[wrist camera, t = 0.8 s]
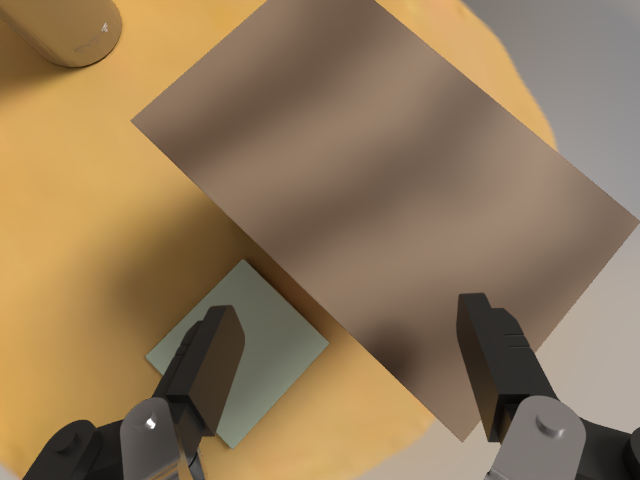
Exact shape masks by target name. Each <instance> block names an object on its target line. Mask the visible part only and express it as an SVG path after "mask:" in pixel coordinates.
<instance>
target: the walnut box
mask: <svg viewBox="0 0 640 480" xmlns="http://www.w3.org/2000/svg"><path fill="white" fill-rule="evenodd" d="M130 121H131V122H132V123H133V124H134V125H135V126H136V127H137V128H138V129H139V130H140V131H141V132H142V133H143V134H144V135H145V136H146V137H147V138H148V139H149V140H150V141H151V142H152V143H153V144H155V145H156V146H157V147H158V148H159V149H160V150H161V151H162V152H163V153H164V154H165V155H166V156H167V157H168V158H169V159H170V160H171V161H172V162H173V163H174V164H175V165H176V166H177V167H178V168H179V169H180V170H181V171H182V172H183V173H184V174H185V175H187V176H188V177H189V178H190V179H191V180H192V181H193V182H194V183H195V184H196V185H197V186H198V187H199V188H200V189H201V190H202V191H203V192H204V193H205V194H206V195H207V196H208V197H209V198H210V199H211V200H212V201H213V202H214V203H215V204H216V205H218V206H219V207H220V208H221V209H222V210H223V211H224V212H225V213H226V214H227V215H228V216H229V217H230V218H231V219H232V220H233V221H234V222H235V223H236V224H237V225H238V226H239V227H240V228H241V229H242V230H243V231H244V232H245V233H246V234H247V235H248V236H250V237H251V238H252V239H253V240H254V241H255V242H256V243H257V244H258V245H259V246H260V247H261V248H262V249H263V250H264V251H265V252H266V253H267V254H268V255H269V256H270V257H271V258H272V259H273V260H274V261H275V262H276V263H277V264H278V265H279V266H280V267H282V268H283V269H284V270H285V271H286V272H287V273H288V274H289V275H290V276H291V277H292V278H293V279H294V280H295V281H296V282H297V283H298V284H299V285H300V286H301V287H302V288H303V289H304V290H305V291H306V292H307V293H308V294H309V295H310V296H311V297H312V298H314V299H315V300H316V301H317V302H318V303H319V304H320V305H321V306H322V307H323V308H324V309H325V310H326V311H327V312H328V313H329V314H330V315H331V316H332V317H333V318H334V319H335V320H336V321H337V322H338V323H339V324H340V325H341V326H342V327H343V328H345V329H346V330H347V331H348V332H349V333H350V334H351V335H352V336H353V337H354V338H355V339H356V340H357V341H358V342H359V343H360V344H361V345H362V346H363V347H364V348H365V349H366V350H367V351H368V352H369V353H370V354H371V355H372V356H373V357H374V358H375V359H377V360H378V361H379V362H380V363H381V364H382V365H383V366H384V367H385V368H386V369H387V370H388V371H389V372H390V373H391V374H392V375H393V376H394V377H395V378H396V379H397V380H398V381H399V382H400V383H401V384H402V385H403V386H404V387H405V388H406V389H407V390H409V391H410V392H411V393H412V394H413V395H414V396H415V397H416V398H417V399H418V400H419V401H420V402H421V403H422V404H423V405H424V406H425V407H426V408H427V409H428V410H429V411H430V412H431V413H432V414H433V415H434V416H435V417H436V418H437V419H438V420H440V421H441V422H442V423H443V424H444V425H445V426H446V427H447V428H448V429H449V430H450V431H451V432H452V433H453V434H454V435H455V436H456V437H457V438H458V439H459V440H460V441H461V442H464V440H465V439H466V438H467V437H468V435H469V434H470V433H471V432H472V430H473V429H474V428H475V427H476V425H477V424H478V423H479V422H480V420H481V417H480V413H479V410H478V407H477V403H476V400H475V397H474V393H473V390H472V387H471V384H470V380H469V377H468V374H467V370H466V367H465V364H464V360H463V357H462V354H461V350H460V347H459V344H458V340H457V333H456V320H457V308H458V297H459V294H462V293H482V292H483V293H485V295H486V297H487V299H488V301H489V303H490V305H491V308H504V309H505V310H507V311H508V312H509V313H510V314H511V315H512V316H513V317H514V318H516V319H517V321H518V323H519V325H520V327H521V329H522V331H523V333H524V336H525V337H526V338H527V340H528V342H529V344H530V348H531V349H532V350H533V352H534V353H535V352H536V351H537V350H538V348H539V347H540V346H541V345H542V343H543V342H544V341H545V340H546V339H547V337H548V336H549V335H550V334H551V332H552V331H553V330H554V329H555V327H556V326H557V325H558V324H559V322H560V321H561V320H562V319H563V317H564V316H565V315H566V313H567V312H568V311H569V310H570V309H571V307H572V306H573V305H574V304H575V302H576V301H577V300H578V299H579V297H580V296H581V295H582V294H583V292H584V291H585V290H586V289H587V288H588V286H589V285H590V284H591V283H592V281H593V280H594V279H595V278H596V276H597V275H598V274H599V272H600V271H601V270H602V269H603V268H604V266H605V265H606V264H607V263H608V261H609V260H610V259H611V258H612V256H613V255H614V254H615V253H616V252H617V250H618V249H619V248H620V247H621V245H622V244H623V243H624V241H625V240H626V239H627V238H628V236H629V235H630V234H631V233H632V232H633V230H634V229H635V228H636V226H637V225H638V224H639V223H640V221H639V220H638V219H637V218H636V217H635V216H633V215H632V214H631V213H630V212H629V211H627V210H626V209H625V208H623V207H622V206H621V205H620V204H619V203H617V202H616V201H615V200H614V199H613V198H612V197H610V196H609V195H608V194H607V193H606V192H604V191H603V190H602V189H601V188H600V187H598V186H597V185H596V184H595V183H594V182H592V181H591V180H590V179H589V178H588V177H586V176H585V175H584V174H583V173H582V172H580V171H579V170H578V169H577V168H576V167H574V166H573V165H572V164H571V163H570V162H568V161H567V160H566V159H565V158H563V157H562V156H561V155H560V154H559V153H558V152H556V151H555V150H554V149H553V148H552V147H550V146H549V145H548V144H547V143H545V142H544V141H543V140H542V139H541V138H539V137H538V136H537V135H536V134H535V133H533V132H532V131H531V130H530V129H529V128H527V127H526V126H525V125H524V124H523V123H521V122H520V121H519V120H518V119H517V118H515V117H514V116H513V115H512V114H511V113H509V112H508V111H507V110H506V109H505V108H503V107H502V106H501V105H500V104H499V103H497V102H496V101H495V100H494V99H493V98H491V97H490V96H489V95H488V94H487V93H485V92H484V91H483V90H482V89H481V88H479V87H478V86H477V85H476V84H475V83H473V82H472V81H471V80H470V79H468V78H467V77H466V76H465V75H464V74H462V73H461V72H460V71H459V70H458V69H456V68H455V67H454V66H453V65H452V64H450V63H449V62H448V61H447V60H446V59H444V58H443V57H442V56H441V55H440V54H438V53H437V52H436V51H435V50H434V49H432V48H431V47H430V46H429V45H428V44H426V43H425V42H424V41H423V40H422V39H420V38H419V37H418V36H417V35H416V34H414V33H413V32H412V31H411V30H410V29H408V28H407V27H406V26H405V25H404V24H402V23H401V22H400V21H399V20H398V19H396V18H395V17H394V16H393V15H391V14H390V13H389V12H388V11H387V10H385V9H384V8H383V7H382V6H381V5H379V4H378V3H377V2H376V1H375V0H267V1H266V2H265V3H264V4H263V5H261V6H260V7H259V8H258V9H257V10H256V11H255V12H253V13H252V14H251V15H250V16H249V17H248V18H247V19H245V20H244V21H243V22H242V23H241V24H240V25H239V26H237V27H236V28H235V29H234V30H233V31H232V32H231V33H229V34H228V35H227V36H226V37H225V38H224V39H223V40H222V41H220V42H219V43H218V44H217V45H216V46H215V47H214V48H212V49H211V50H210V51H209V52H208V53H207V54H206V55H204V56H203V57H202V58H201V59H200V60H199V61H198V62H196V63H195V64H194V65H193V66H192V67H191V68H190V69H188V70H187V71H186V72H185V73H184V74H183V75H182V76H180V77H179V78H178V79H177V80H176V81H175V82H174V83H172V84H171V85H170V86H169V87H168V88H167V89H166V90H165V91H163V92H162V93H161V94H160V95H159V96H158V97H157V98H155V99H154V100H153V101H152V102H151V103H150V104H149V105H147V106H146V107H145V108H144V109H143V110H142V111H141V112H139V113H138V114H137V115H136V116H135V117H134V118H133V119H131V120H130Z"/></svg>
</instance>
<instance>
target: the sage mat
mask: <svg viewBox="0 0 640 480" xmlns="http://www.w3.org/2000/svg"><path fill="white" fill-rule="evenodd" d="M218 305H232V306H233V307H234V309H235V311H236V314H237V316H238V319H239V321H240V323H241V326H242V328H243V331H244V334H245V347H244V351H243V354H242V357H241V360H240V362H239V365H238V368H237V371H236V374H235V377H234V380H233V383H232V386H231V389H230V392H229V395H228V398H227V401H226V404H225V407H224V410H223V413H222V416H221V419H220V422H219V425H218V428H217V431H216V433H217V434H218V435H219V436H220V437H221V438H222V439H223V440H224V441H225V442H226V444H227V445H228V446H229V447H230V448H231V449H232V450H233V449H234V448H235V447H236V445H237V444H238V443H239V442H240V441H241V440H242V439H243V438H244V437H245V436H246V434H247V433H248V432H249V431H250V430H251V429H252V428H253V427H254V426H255V425H256V424H257V422H258V421H259V420H260V419H261V418H262V417H263V416H264V415H265V414H266V413H267V411H268V410H269V409H270V408H271V407H272V406H273V405H274V404H275V403H276V402H277V400H278V399H279V398H280V397H281V396H282V395H283V394H284V393H285V392H286V391H287V390H288V388H289V387H290V386H291V385H292V384H293V383H294V382H295V381H296V380H297V379H298V377H299V376H300V375H301V374H302V373H303V372H304V371H305V370H306V369H307V368H308V367H309V365H310V364H311V363H312V362H313V361H314V360H315V359H316V358H317V357H318V356H319V354H320V353H321V352H322V351H323V350H324V349H325V348H326V347H327V346H328V345H329V342H328V341H327V340H326V339H325V338H324V337H323V336H322V335H321V334H320V333H319V332H318V331H317V330H316V329H315V328H314V327H313V326H312V325H311V324H310V323H309V322H308V321H307V320H306V319H305V318H304V317H303V316H302V315H301V314H300V313H299V312H298V311H297V310H296V309H295V308H294V307H293V306H292V305H291V304H289V303H288V302H287V301H286V300H285V299H284V298H283V297H282V296H281V295H280V294H279V293H278V292H277V291H276V290H275V289H274V288H273V287H272V286H271V285H270V284H269V283H268V282H267V281H266V280H265V279H264V278H263V277H262V276H261V275H260V274H259V273H258V272H257V271H256V270H255V269H254V268H253V267H252V266H251V265H250V264H249V263H248V262H247V261H246V260H245V259H242V260H241V261H240V262H239V263H238V264H237V265H236V266H235V267H234V268H233V269H232V270H231V271H230V272H229V273H228V274H227V275H226V276H225V277H224V278H223V279H222V280H221V281H220V282H219V283H218V284H217V285H216V286H215V287H214V288H213V289H212V290H211V291H210V292H209V293H208V294H207V295H206V296H205V297H204V298H203V299H202V300H201V301H200V302H199V303H198V304H197V305H196V306H195V307H194V308H193V309H192V310H191V311H190V312H189V313H188V314H187V315H186V316H185V317H184V318H183V319H182V320H181V321H180V322H179V323H178V324H177V325H176V326H175V327H174V328H173V329H172V330H171V331H170V332H169V333H168V334H167V335H166V336H165V337H164V338H163V339H162V340H161V341H160V342H159V343H158V344H157V345H156V346H155V347H154V348H153V349H152V350H151V351H150V352H149V353H148V354H147V355H146V356H145V357H146V359H147V360H148V361H149V362H150V363H151V364H152V365H153V366H154V367H155V368H156V369H157V370H158V371H159V372H160V373H161V374H162V376H163V375H164V373H165V371H166V370H167V368H168V366H169V364H170V362H171V360H172V358H173V357H175V353H176V351H177V349H178V347H180V343H181V341H182V340H183V338H184V336H185V334H186V332H187V331H188V330H189V329H190V328H191V327H192V326H193V325H194V324H195V323H196V322H197V321H201V320H203V319H204V317H205V315H206V313H207V311H208V309H209V308H210V307H211V306H218Z"/></svg>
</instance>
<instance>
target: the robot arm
mask: <svg viewBox="0 0 640 480" xmlns="http://www.w3.org/2000/svg"><path fill="white" fill-rule="evenodd" d="M0 19H1V20H3V21H4V22H5V23H6V24H7V25H8V26H9V27H10V28H11V29H12V30H14V31H15V32H16V33H17V34H18V35H19V36H20V37H22V38H23V39H24V40H25V41H26V42H27V43H28V44H30V45H31V46H32V47H33V48H34V49H35V50H36V51H37V52H39V53H40V54H41V55H42V56H43V57H44V58H46V59H47V60H49V61H50V62H52V63H54V64H57V65H60V66H65V67H81V66H85V65H89V64H92V63H94V62H96V61H99V60H100V59H101V58H103V57H104V56H106V55H107V54H108V53H109V52H110V51H111V50H112V49H113V48H114V46H115V44H116V43H117V41H118V39H119V36H120V34H121V27H122V22H121V16H120V13H119V10H118V8H117V7H116V5H115V4H114V3H113V1H112V0H0ZM456 333H457V340H458V344H459V347H460V350H461V354H462V357H463V360H464V364H465V367H466V370H467V374H468V377H469V380H470V384H471V387H472V390H473V393H474V397H475V400H476V403H477V407H478V410H479V413H480V417H481V420H482V423H483V426H484V430H485V433H486V436H487V440H488V442H500V444H501V448H500V450H499V452H498V454H497V456H496V458H495V461H494V463H493V465H492V467H491V469H490V471H489V472H488V473H487V474H486V476H485V478H484V480H640V427H639V428H637V429H636V430H635V431H634V432H633V433H632V434H629V433H625V432H622V431H619V430H615V429H611V428H608V427H604V426H601V425H597V424H594V423H591V422H589V421H587V420H584V419H582V418H581V417H579V416H577V414H576V413H575V412H574V411H573V410H571V409H570V408H569V407H568V406H566V405H565V404H564V403H562V402H561V401H560V400H559V399H558V398H557V396H556V394H555V393H554V391H553V389H552V387H551V385H550V383H549V381H548V379H547V377H546V376H545V374H544V371H543V370H542V368H541V366H540V364H539V362H538V360H537V358H536V356H535V354H534V352H533V350H532V349H531V348H530V344H529V342H528V340H527V338H526V337H525V336H524V333H523V331H522V329H521V327H520V325H519V323H518V321H517V319H516V318H514V317H513V316H512V315H511V314H510V313H509V312H508V311H507V310H505V309H504V308H491V305H490V303H489V301H488V299H487V297H486V295H485V293H483V292H482V293H462V294H459V297H458V308H457V320H456ZM244 347H245V334H244V331H243V328H242V326H241V323H240V321H239V319H238V316H237V314H236V311H235V309H234V307H233V306H232V305H218V306H211V307H210V308H209V309H208V311H207V313H206V315H205V317H204V319H203V320H201V321H197V322H196V323H195V324H194V325H193V326H192V327H191V328H190V329H189V330H188V331H187V332H186V334H185V336H184V338H183V340H182V341H181V343H180V347H178V349H177V351H176V353H175V357H173V358H172V360H171V362H170V364H169V366H168V368H167V370H166V371H165V373H164V375H163V377H162V379H161V381H160V383H159V384H158V386H157V388H156V390H155V392H154V394H153V395H152V397H151V398H149V399H147V400H144V401H142V402H141V403H139V404H138V405H136V406H135V407H134V408H133V409H132V410H131V411H130V412H129V413H128V414H127V415H126V417H125V418H124V419H123V420H119V421H116V422H113V423H110V424H107V425H104V426H101V427H98V428H96V427H95V426H94V425H93V424H92V423H91V422H90V421H88V420H78V421H74V422H72V423H70V424H68V425H66V426H65V427H63V428H62V429H60V430H59V431H58V432H57V433H56V434H54V435H53V436H52V438H51V439H50V440H49V441H48V442H47V444H46V445H45V447H44V448H43V450H42V451H41V452H40V454H39V455H38V457H37V458H36V460H35V461H34V463H33V464H32V466H31V467H30V469H29V470H28V472H27V473H26V475H25V476H24V478H23V479H22V480H209V479H208V475H207V472H206V468H205V465H204V462H203V458H202V455H201V451H200V449H199V447H198V446H199V443H200V441H201V438H202V436H215V434H216V431H217V428H218V425H219V422H220V419H221V416H222V413H223V410H224V407H225V404H226V401H227V398H228V395H229V392H230V389H231V386H232V383H233V380H234V377H235V374H236V371H237V368H238V365H239V362H240V360H241V357H242V354H243V351H244Z"/></svg>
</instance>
